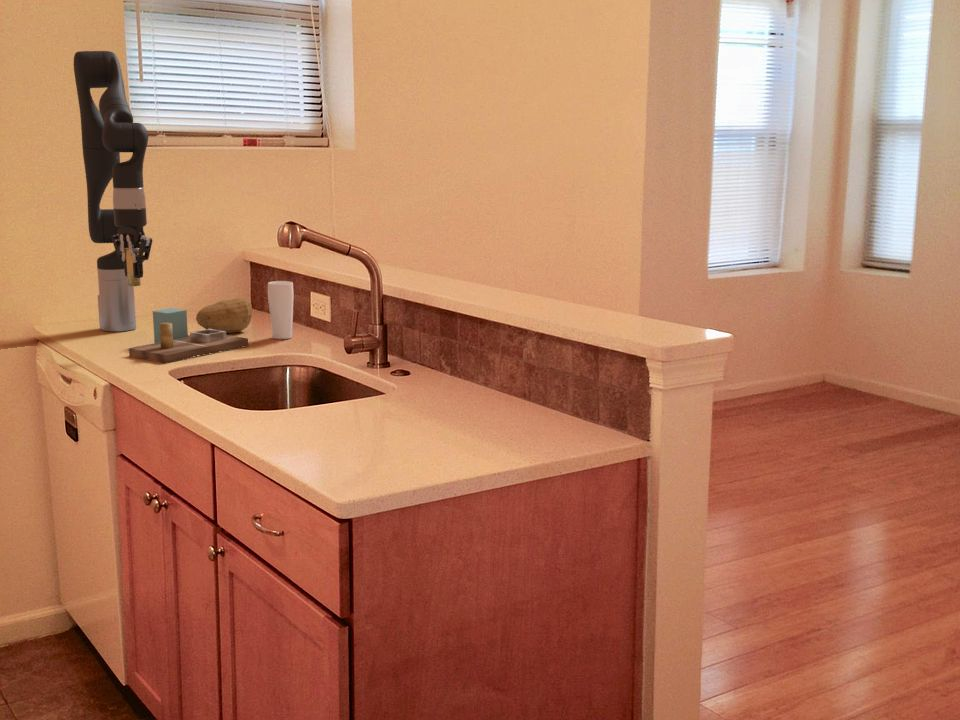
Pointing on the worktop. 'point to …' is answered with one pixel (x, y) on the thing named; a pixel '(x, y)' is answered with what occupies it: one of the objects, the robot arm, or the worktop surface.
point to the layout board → (186, 345)
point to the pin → (131, 270)
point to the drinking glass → (281, 308)
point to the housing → (174, 317)
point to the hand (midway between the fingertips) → (134, 276)
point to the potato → (226, 315)
